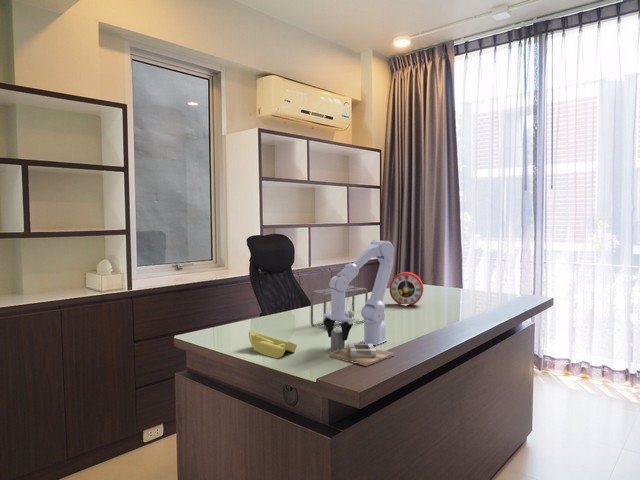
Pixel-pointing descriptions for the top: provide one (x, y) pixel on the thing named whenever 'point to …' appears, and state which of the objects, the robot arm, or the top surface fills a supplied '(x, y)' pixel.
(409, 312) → the top surface
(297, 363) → the top surface
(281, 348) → the plastic component
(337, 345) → the grey rectangular block
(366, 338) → the robot arm
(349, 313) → the newton's cradle
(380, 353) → the duct base
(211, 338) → the top surface
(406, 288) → the toy clock
